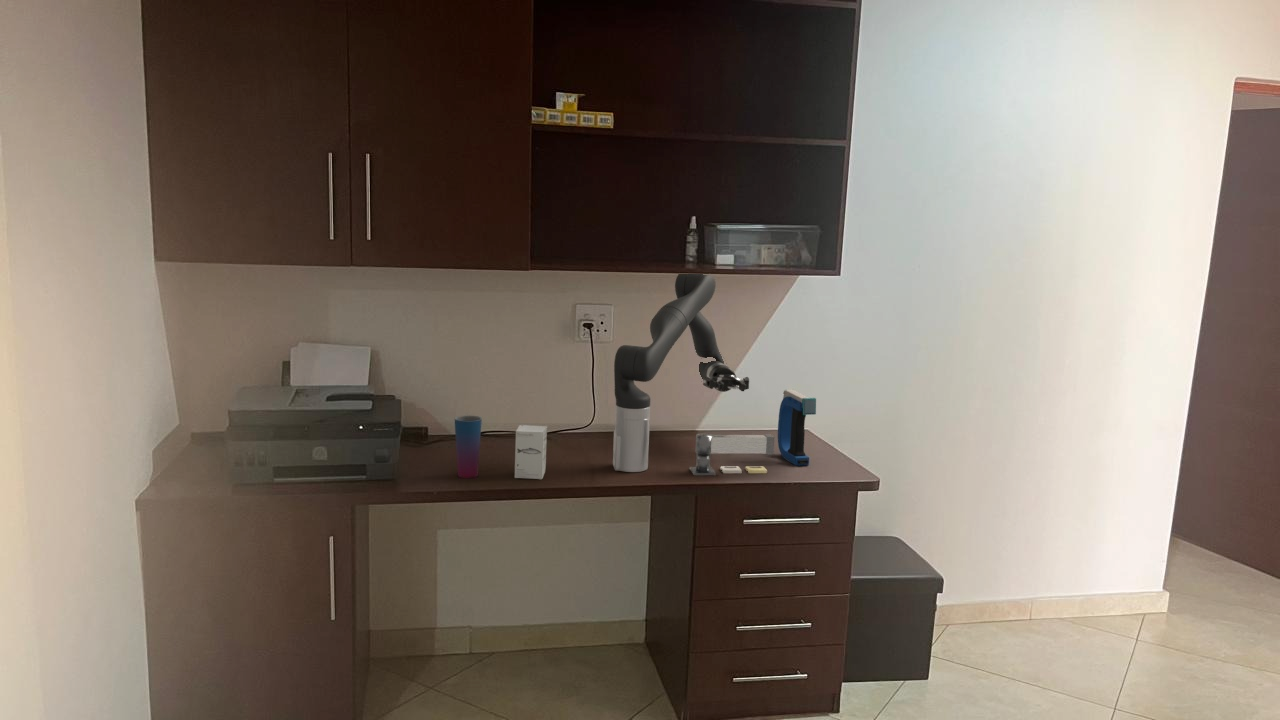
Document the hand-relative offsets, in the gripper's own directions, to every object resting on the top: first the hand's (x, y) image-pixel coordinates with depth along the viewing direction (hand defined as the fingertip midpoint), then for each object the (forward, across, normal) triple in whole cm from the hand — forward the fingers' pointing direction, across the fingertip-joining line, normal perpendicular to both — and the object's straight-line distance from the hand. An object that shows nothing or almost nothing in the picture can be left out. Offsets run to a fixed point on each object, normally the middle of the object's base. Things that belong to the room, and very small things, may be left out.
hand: (733, 387), depth 265 cm
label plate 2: (+15, +4, +20) cm, 26 cm away
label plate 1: (+15, -3, +20) cm, 25 cm away
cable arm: (+16, -3, +15) cm, 22 cm away
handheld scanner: (+4, +18, +20) cm, 27 cm away
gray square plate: (+16, -11, +20) cm, 28 cm away
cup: (+20, -73, +20) cm, 78 cm away
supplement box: (+20, -57, +20) cm, 64 cm away
